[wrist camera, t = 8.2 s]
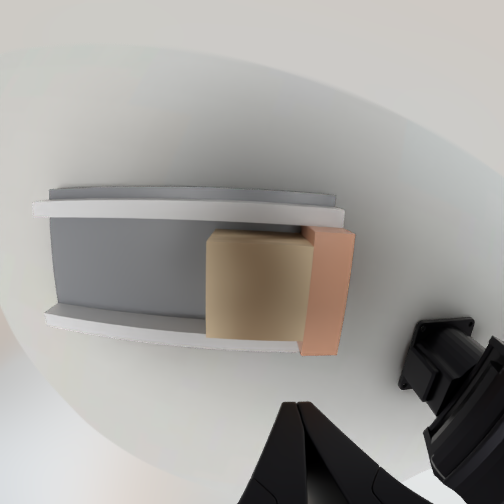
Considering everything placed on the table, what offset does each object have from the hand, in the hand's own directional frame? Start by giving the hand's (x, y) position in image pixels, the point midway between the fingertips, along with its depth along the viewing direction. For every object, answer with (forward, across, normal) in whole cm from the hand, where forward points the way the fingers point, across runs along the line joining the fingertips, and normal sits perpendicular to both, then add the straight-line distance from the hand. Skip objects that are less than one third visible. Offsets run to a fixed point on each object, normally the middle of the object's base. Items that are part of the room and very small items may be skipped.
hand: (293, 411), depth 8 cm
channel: (+12, +6, -1) cm, 13 cm away
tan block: (+11, +1, -1) cm, 11 cm away
